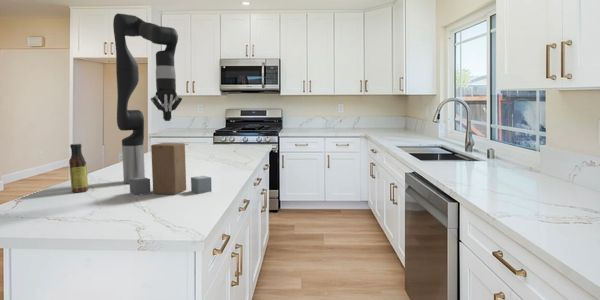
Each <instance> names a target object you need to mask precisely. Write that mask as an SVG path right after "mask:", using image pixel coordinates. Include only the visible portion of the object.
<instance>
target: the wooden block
mask: <svg viewBox="0 0 600 300" xmlns="http://www.w3.org/2000/svg"><path fill="white" fill-rule="evenodd" d="M150 147H151V148H150V150H151V151H150V152H151V154H150V155H151V172H152V173H151V174H152V175H151V177H152V193H153V194H154V195H171V196H172V195H174V196H175V195H177V194H180V193H182V192H184V191H186V190H187V171H186V170H187V169H186V168H187V167H186V166H187V165H186V144H185V142H159V143H156V144H151V145H150Z"/></svg>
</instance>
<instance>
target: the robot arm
mask: <svg viewBox="0 0 600 300" xmlns="http://www.w3.org/2000/svg"><path fill="white" fill-rule="evenodd" d="M112 23H113V25H112V26H113V28H112V29H113V35H114V43H115V57H116V58H115V59H116V61H115V62H116V64H115V67H116V68H115V69H116V72H115V73H116V85H117V86H116V89H117V92H116V93H117V102H116V103H117V104H116V124H117V125H116V126H117V127H118V129H119V131H125V132H126V131H132V133H131V134H130V135H129V136H125V137H124V138H123V139H121V145H122V146H121V147H122V148H121V151H122V154H121V155H122V170H123V171H122V173H123V183H125V184H130V179H133V178H141V177H145V178H146V173H145V172H146V171H145V153H144V152H145V148H144V138H145V119H144V118H145V117H144V114H143V112H142V111H141V110H139V109H130V110H129V109H128V104H129V100H130V98H131V96H132V94H133V92H134V90H135V89H136V88H137V86H138V84H139V81H140V80H139V66H138V63H137V61H136V59H135V57H134V55H132V53H131V51H130V50H129V48H128V46H127V40H126V37H132V38H133V37H141V38H143V39H144V40H146V41H149V42H151V43H152V44H155V45H161V46H162V45H163V46H165V49H164V50H158V51H157V52H156V53H155V86H156V87H155V88H156V92H155V95H154V96H153V97H150V101H151V102H152V104H153V105H154V106H155V107H156V108H157V111H162V116H163V117H162V119H163V121H165V122H170V121H171V120H172V112H173V111H175V110H176V109H177V108H178V107H179V105H180V103H181V102H182V101H183V97H179V95H178V93H177V91H176V89H177V84H176V82H177V81H176V69H175V53H176V49H177V44H178V40H179V35H178V32H177V30H176V29H175V28H173V27H168V26H161V25H159V24H156V23H151V22H147V21H144V20H143V19H142V18H140V17H138V16H136V15H133V14H125V13H116V14H115V15H114V17H113V22H112Z"/></svg>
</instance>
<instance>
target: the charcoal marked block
mask: <svg viewBox="0 0 600 300" xmlns="http://www.w3.org/2000/svg"><path fill="white" fill-rule="evenodd" d="M129 193H130V194H131V193H132V194H131V195H133V194H135V195H134V196H141V195H140V194H143V195H149V194H148V193H150V194H151V178H148V177H146V176H145V177H141V178H133V179H130V183H129Z"/></svg>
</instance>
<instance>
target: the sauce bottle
mask: <svg viewBox="0 0 600 300" xmlns="http://www.w3.org/2000/svg"><path fill="white" fill-rule="evenodd" d="M69 147H70V149H71V150H70V151H71V156H70V157H69V158H70V159H69V161H68V162H69V163H68V164H69V176H70V185H71V186H70V188H71V191H72V192H73V193H83V192H87V191H88V190H89V182H88V172H87V171H88V170H87V169H88V168H87V161H86V160H85V157H84V156H83V153H82V151H83V150H82V144H81V143H71V144H70V145H69Z"/></svg>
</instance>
